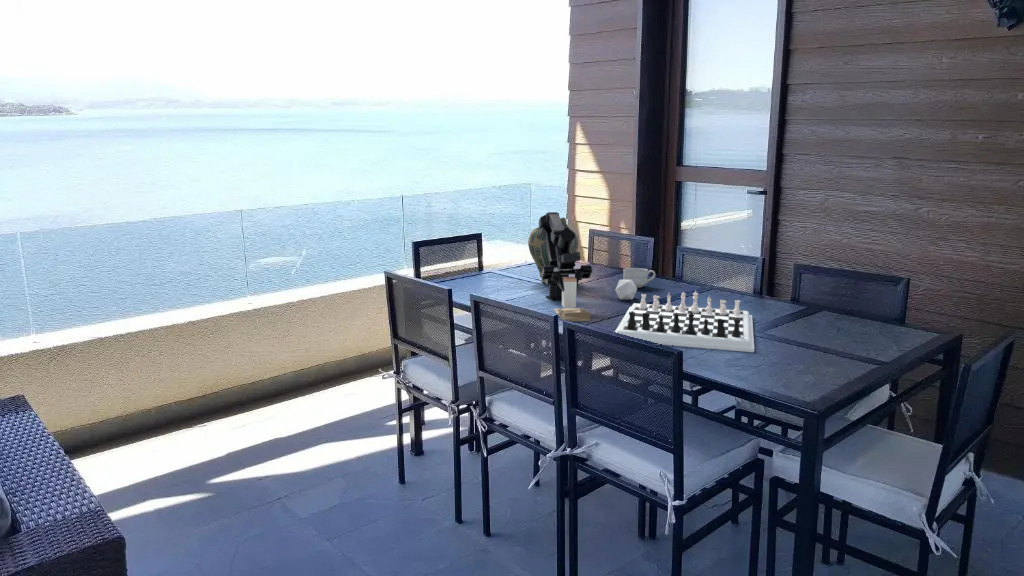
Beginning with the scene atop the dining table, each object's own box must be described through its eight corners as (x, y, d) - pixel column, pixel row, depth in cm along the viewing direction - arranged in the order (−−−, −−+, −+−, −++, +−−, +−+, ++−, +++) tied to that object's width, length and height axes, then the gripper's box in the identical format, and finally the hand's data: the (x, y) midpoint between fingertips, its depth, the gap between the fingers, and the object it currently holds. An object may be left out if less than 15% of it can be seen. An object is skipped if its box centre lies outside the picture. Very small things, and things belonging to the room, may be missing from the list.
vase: (563, 289, 325) (565, 220, 319) (519, 284, 336) (519, 217, 330) (585, 280, 344) (587, 215, 338) (542, 275, 355) (543, 212, 349)
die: (630, 303, 303) (642, 283, 304) (612, 292, 304) (624, 272, 305) (627, 306, 311) (639, 286, 313) (609, 295, 312) (621, 275, 313)
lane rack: (553, 310, 289) (553, 301, 288) (578, 309, 290) (579, 300, 290) (563, 322, 271) (564, 313, 270) (591, 321, 272) (591, 312, 271)
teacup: (620, 288, 329) (621, 270, 327) (624, 283, 339) (625, 266, 337) (652, 290, 324) (653, 272, 323) (656, 285, 334) (656, 267, 333)
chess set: (751, 319, 279) (753, 291, 276) (753, 354, 236) (756, 320, 234) (629, 311, 291) (630, 283, 289) (611, 342, 249) (612, 310, 247)
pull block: (561, 305, 287) (562, 276, 284) (573, 304, 287) (573, 276, 285) (564, 308, 282) (564, 279, 280) (575, 307, 283) (576, 279, 281)
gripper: (543, 244, 282) (548, 279, 274) (591, 244, 285) (598, 278, 277) (539, 261, 292) (544, 295, 284) (586, 260, 294) (592, 294, 286)
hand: (569, 290), depth 282 cm, fingers closed on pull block, 4 cm apart
